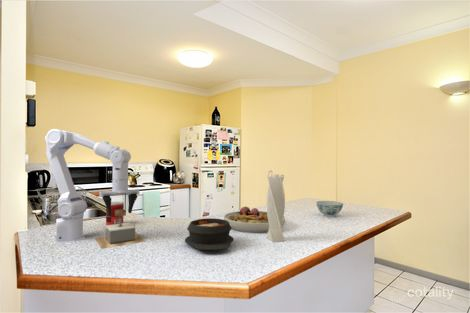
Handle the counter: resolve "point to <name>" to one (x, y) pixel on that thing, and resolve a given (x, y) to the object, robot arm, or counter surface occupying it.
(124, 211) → the plunger
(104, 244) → the cork trivet
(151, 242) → the counter surface
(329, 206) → the chinaware
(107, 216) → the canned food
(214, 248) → the casserole
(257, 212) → the bowl
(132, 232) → the grey rectangular block
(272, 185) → the skyscraper
